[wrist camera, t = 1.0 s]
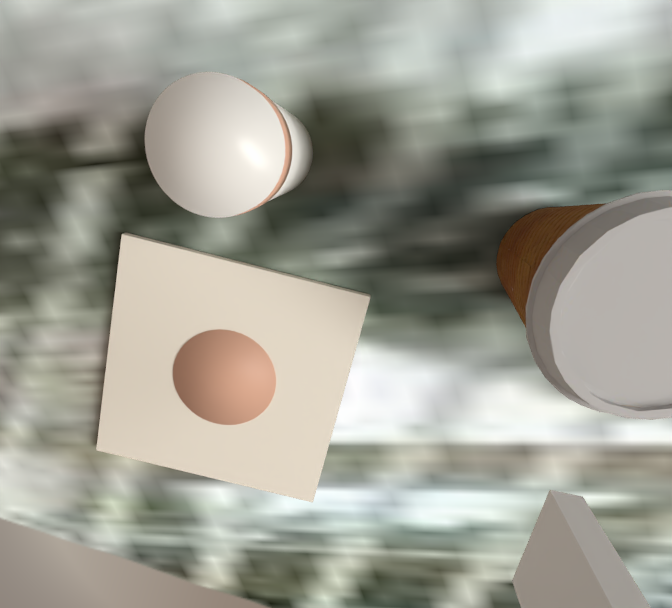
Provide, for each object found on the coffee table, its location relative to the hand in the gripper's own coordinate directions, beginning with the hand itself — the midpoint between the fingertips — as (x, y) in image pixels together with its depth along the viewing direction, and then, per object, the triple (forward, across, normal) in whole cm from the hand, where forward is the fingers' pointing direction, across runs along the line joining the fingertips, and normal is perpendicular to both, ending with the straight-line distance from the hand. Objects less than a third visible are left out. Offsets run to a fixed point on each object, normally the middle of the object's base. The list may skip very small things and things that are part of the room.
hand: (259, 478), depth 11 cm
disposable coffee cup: (+21, +13, +3) cm, 25 cm away
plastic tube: (+21, -5, +6) cm, 22 cm away
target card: (+20, -5, -9) cm, 23 cm away
